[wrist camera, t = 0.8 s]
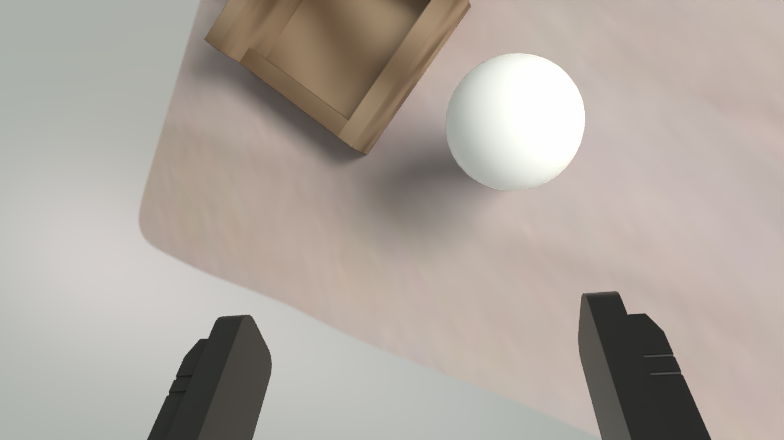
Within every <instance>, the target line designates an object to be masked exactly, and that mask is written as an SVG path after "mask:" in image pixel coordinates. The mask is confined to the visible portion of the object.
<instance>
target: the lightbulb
mask: <svg viewBox="0 0 784 440" xmlns="http://www.w3.org/2000/svg"><path fill="white" fill-rule="evenodd" d="M584 124H585V112H584V106H583V101H582V98H581V96H580V93H579V91H578V89H577V87H576V86H575V84H574V83H573V81H572V80H571V78H570V77H569V76H568V74H566V73H565V72H564V71H563V70H562V69H561V68H560V67H559V66H558V65H556V64H554V63H552V62H551V61H549V60H547V59H545V58H542V57H539V56H536V55H531V54H523V53H514V54H505V55H501V56H497V57H493V58H491V59H489V60H487V61H485V62H482V63H481V64H480V65H478V66H477V67H475V68H474V69H472V70H471V71H470V72H469V73H468V74H467V75H466V76H465V77H464V78H463V79H462V80H461V82H460V83H459V85H458V86H457V88H456V89H455V91H454V93H453V95H452V97H451V99H450V102H449V105H448V109H447V113H446V135H447V142H448V145H449V148H450V150H451V153H452V155H453V157H454V158H455V160H456V162H457V163H458V165H459V166H460V167H461V168H462V169H463V170H464V171H465V172H466V173H467V174H468V175H469V176H470V177H472V178H473V179H475V180H476V181H477V182H479V183H481V184H483V185H485V186H488V187H490V188H493V189H498V190H503V191H521V190H526V189H531V188H534V187H537V186H539V185H542V184H544V183H546V182H548V181H549V180H551V179H553V178H554V177H556V176H557V175H558V174H559V173H560V172H561V171H562V170H564V169H565V168H566V167H567V165H568V164H569V163H570V161H571V160H572V159H573V157H574V156H575V154H576V152H577V150H578V148H579V146H580V143H581V139H582V135H583V131H584Z"/></svg>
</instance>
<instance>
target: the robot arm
mask: <svg viewBox="0 0 784 440" xmlns="http://www.w3.org/2000/svg"><path fill="white" fill-rule="evenodd" d="M578 344H579V353H580V358H581V363H582V366H583V370H584V374H585V378H586V381H587V385H588V389H589V393H590V396H591V400H592V404H593V408H594V411H595V415H596V419H597V423H598V426H599V430H600V434H601V438H602V440H711V438H710V436H709V433H708V431H707V429H706V427H705V424H704V422H703V420H702V418H701V415H700V413H699V411H698V408H697V406H696V404H695V402H694V399H693V397H692V395H691V393H690V390H689V388H688V386H687V383H686V381H685V379H684V377H683V375H681V370H680V368H679V365H678V363H677V361H676V358H675V357H674V356H673V352H672V349H671V347H670V345H669V343H668V340H667V338H666V336H665V333H664V331H663V330H662V329H661V328H660V327H659V326H658V325H657V324H656V323H655V322H654V321H653V320H652V319H651V318H650V317H649V316H647V315H646V314H629V315H627V312H626V309H625V307H624V304H623V302H622V299H621V297H620V295H619V293H618V292H617V291H613V292H598V293H583V294H582V297H581V308H580V320H579V332H578ZM271 366H272V363H271V355H270V352H269V349H268V347H267V345H266V343H265V341H264V339H263V337H262V335H261V333H260V331H259V329H258V327H257V325H256V323H255V321H254V319H253V318H252V316H250V315H239V316H225V317H224V316H223V317H219V318H218V319H217V320H216V322H215V324H214V326H213V329H212V331H211V333H210V336H209V338H208V339H200V340H199V341H198V342H197V343H196V344H195V345H194V347H193V348H192V349H191V350H190V351H189V352H188V354H187V355H186V356H185V357H184V359H183V361H182V364H181V366H180V368H179V371H178V373H177V375H176V380H174V381H173V384H172V386H171V388H170V390H169V396H167V397H166V399H165V402H164V404H163V406H162V408H161V410H160V412H159V415H158V417H157V419H156V421H155V424H154V426H153V428H152V430H151V432H150V435H149V437H148V439H147V440H252V438H253V435H254V431H255V428H256V425H257V421H258V417H259V414H260V411H261V407H262V403H263V400H264V397H265V393H266V390H267V386H268V383H269V379H270V375H271V368H272V367H271Z"/></svg>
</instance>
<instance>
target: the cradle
mask: <svg viewBox="0 0 784 440" xmlns="http://www.w3.org/2000/svg"><path fill="white" fill-rule="evenodd" d="M470 7H471V6H470V3H469V1H468V0H229V1H228V2H227V4H226V6H225V7H224V9H223V10H222V12H221V14H220V15H219V17H218V18H217V20H216V22H215V23H214V25H213V26H212V28H211V30H210V31H209V33H208V34H207V36H206V38H205V39H204V40H205V41H207V42H208V43H209V44H211V45H212V46H213V47H215V48H216V49H217V50H219V51H221V52H222V53H224V54H226V55H227V56H229V57H231V58H233V59H234V60H236V61H238V62H239V63H241V64H242V65H243V66H245V67H246V68H247V69H249V70H250V71H251V72H253V73H254V74H255V75H256V76H258V77H259V78H260V79H262V80H263V81H264V82H266V83H267V84H268V85H270V86H271V87H272V88H274V89H275V90H276V91H278V92H279V93H280V94H282V95H283V96H284V97H286V98H287V99H288V100H290V101H291V102H292V103H294V104H295V105H296V106H297V107H299V108H300V109H301V110H303V111H304V112H305V113H307V114H308V115H309V116H311V117H312V118H313V119H315V120H316V121H317V122H319V123H320V124H321V125H323V126H324V127H325V128H327V129H328V130H329V131H331V132H332V133H333V134H334V135H336V136H337V137H338V138H340V139H341V140H342V141H344V142H345V143H346V144H348V145H349V146H350V147H352V148H354V149H356V150H358V151H360V152H362V153H364V154H366V155H367V154H368V152H369V151H370V149H371V148H372V147H373V145H374V144H375V142H376V141H377V139H378V138H379V137H380V135H381V134H382V132H383V131H384V129H385V128H386V127H387V125H388V124H389V122H390V121H391V119H392V118H393V117H394V115H395V114H396V112H397V111H398V109H399V108H400V107H401V105H402V104H403V102H404V101H405V99H406V98H407V97H408V95H409V94H410V92H411V91H412V89H413V88H414V87H415V85H416V84H417V82H418V81H419V79H420V78H421V77H422V75H423V74H424V72H425V71H426V69H427V68H428V67H429V65H430V64H431V62H432V61H433V59H434V58H435V57H436V55H437V54H438V52H439V51H440V49H441V48H442V47H443V45H444V44H445V42H446V41H447V39H448V38H449V37H450V35H451V34H452V32H453V31H454V29H455V28H456V27H457V25H458V24H459V22H460V21H461V19H462V18H463V17H464V15H465V14H466V12H467V11H468V9H469V8H470Z"/></svg>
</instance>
